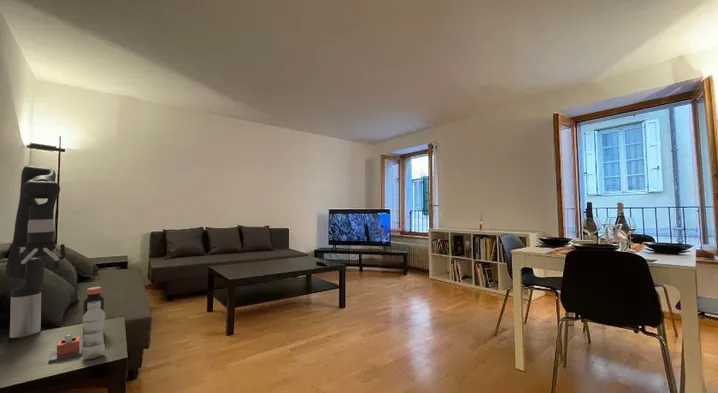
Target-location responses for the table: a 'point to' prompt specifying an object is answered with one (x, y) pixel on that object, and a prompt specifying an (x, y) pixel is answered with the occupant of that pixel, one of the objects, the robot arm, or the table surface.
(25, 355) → the table surface
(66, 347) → the link
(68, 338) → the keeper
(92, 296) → the vinegar
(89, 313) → the plastic bottle
